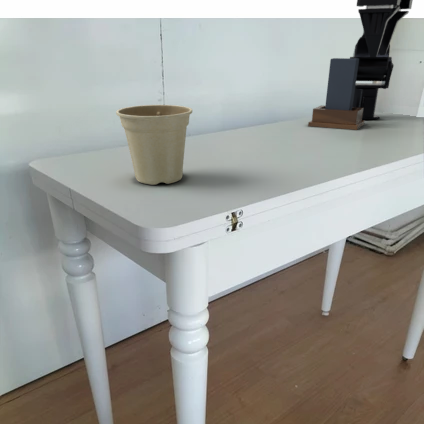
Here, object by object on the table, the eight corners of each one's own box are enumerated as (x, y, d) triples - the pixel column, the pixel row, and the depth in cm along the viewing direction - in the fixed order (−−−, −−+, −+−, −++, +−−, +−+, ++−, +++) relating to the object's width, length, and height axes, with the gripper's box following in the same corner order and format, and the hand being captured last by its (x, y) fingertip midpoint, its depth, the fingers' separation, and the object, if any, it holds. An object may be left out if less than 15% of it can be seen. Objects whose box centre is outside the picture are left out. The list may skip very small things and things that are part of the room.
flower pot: (186, 190, 56) (183, 116, 51) (113, 187, 57) (104, 114, 52) (200, 171, 64) (198, 105, 59) (135, 169, 65) (129, 104, 60)
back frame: (317, 121, 99) (319, 104, 97) (364, 124, 95) (366, 107, 93) (308, 126, 94) (309, 109, 92) (356, 129, 89) (359, 112, 88)
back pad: (326, 119, 96) (333, 58, 90) (350, 121, 94) (359, 58, 88) (323, 121, 94) (330, 58, 88) (347, 122, 92) (356, 59, 86)
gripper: (445, -67, 63) (420, 59, 71) (452, -49, 77) (430, 54, 85) (364, -60, 68) (348, 58, 76) (385, -44, 82) (370, 53, 90)
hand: (378, 56), depth 81 cm, fingers open, 9 cm apart
